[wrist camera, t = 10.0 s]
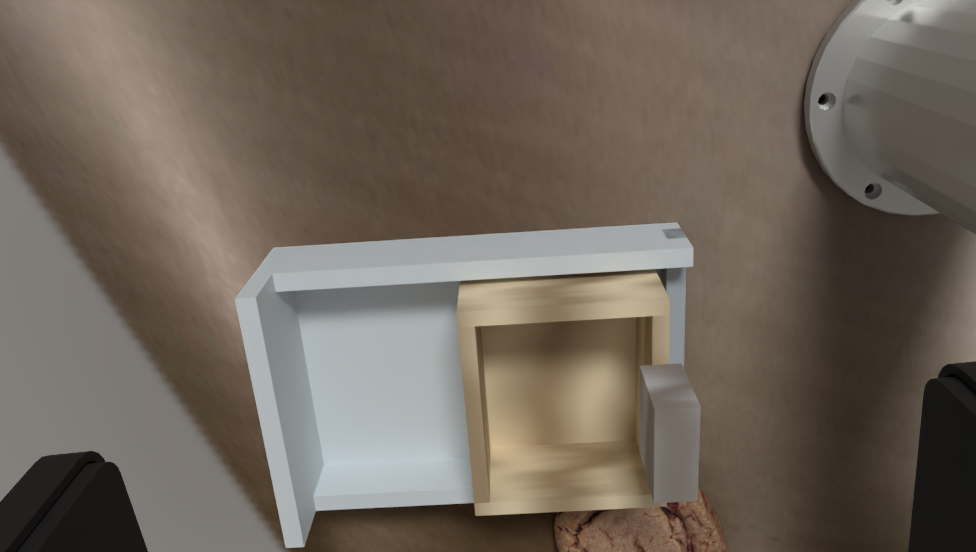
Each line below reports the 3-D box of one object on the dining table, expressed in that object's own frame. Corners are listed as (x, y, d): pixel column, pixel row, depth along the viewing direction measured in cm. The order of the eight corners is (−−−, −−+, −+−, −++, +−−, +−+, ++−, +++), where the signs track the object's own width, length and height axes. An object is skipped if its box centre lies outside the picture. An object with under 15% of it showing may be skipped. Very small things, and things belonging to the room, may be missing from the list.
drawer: (659, 255, 43) (702, 337, 34) (658, 442, 47) (695, 559, 38) (461, 267, 43) (451, 351, 34) (478, 452, 48) (473, 570, 39)
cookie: (552, 462, 50) (555, 492, 47) (725, 458, 49) (739, 488, 47) (554, 588, 53) (557, 623, 51) (715, 585, 53) (727, 620, 50)
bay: (676, 222, 43) (708, 270, 37) (672, 451, 49) (699, 527, 42) (273, 247, 44) (234, 298, 38) (313, 469, 50) (285, 547, 43)
